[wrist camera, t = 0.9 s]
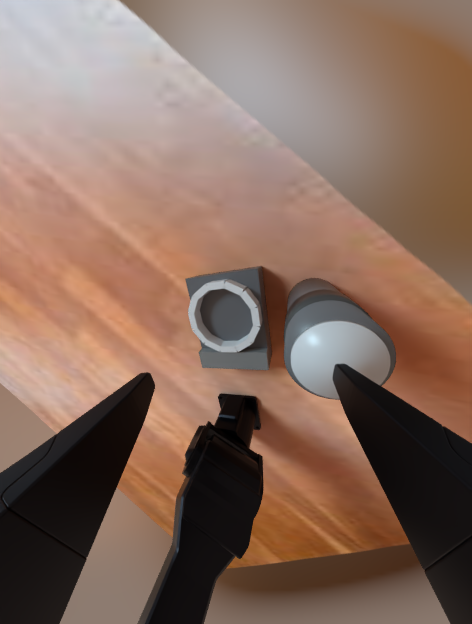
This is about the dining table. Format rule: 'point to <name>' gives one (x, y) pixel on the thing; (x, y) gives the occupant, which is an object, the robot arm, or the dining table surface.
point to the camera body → (231, 319)
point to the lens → (332, 338)
